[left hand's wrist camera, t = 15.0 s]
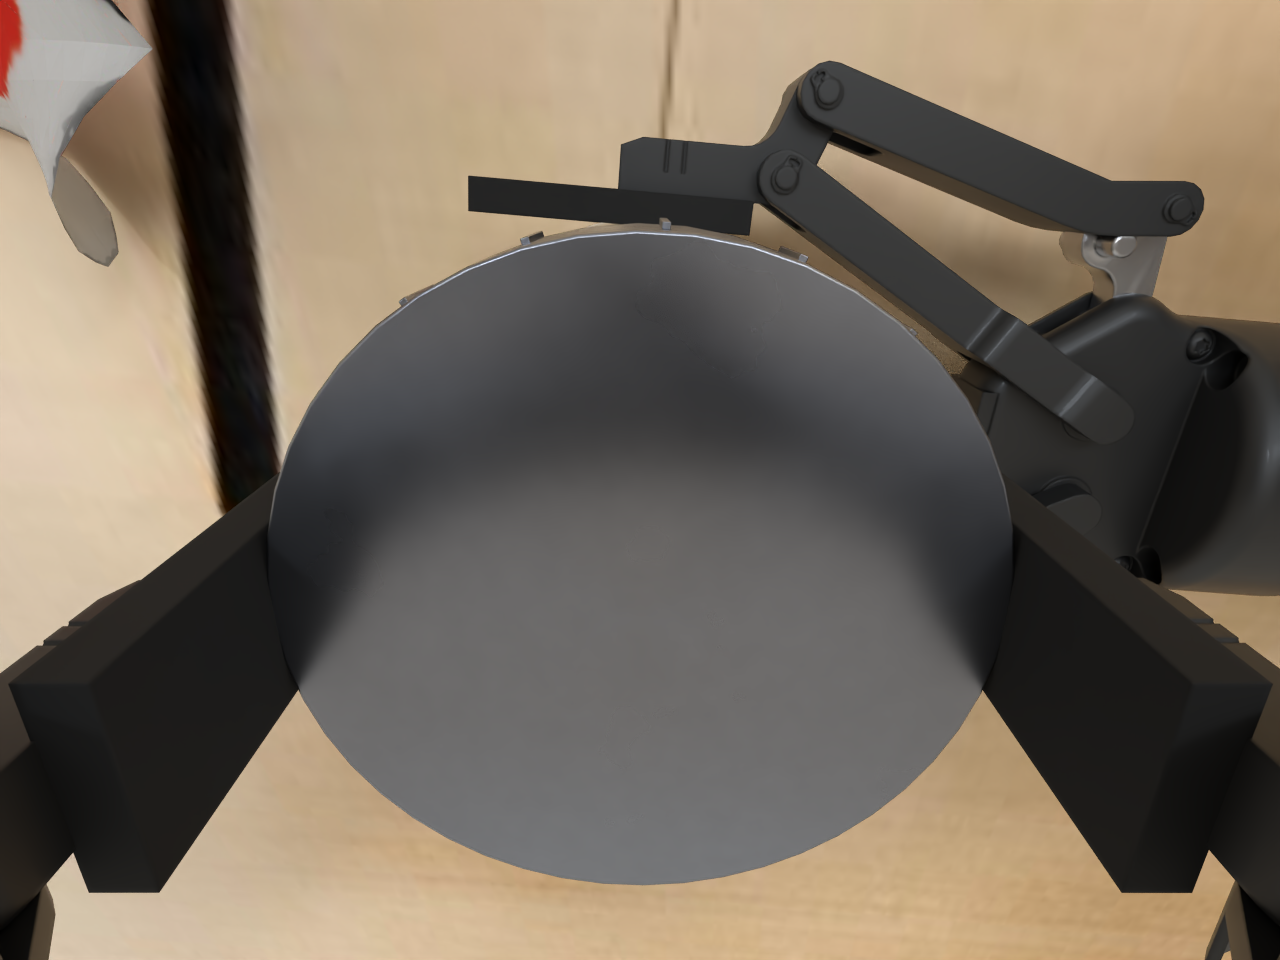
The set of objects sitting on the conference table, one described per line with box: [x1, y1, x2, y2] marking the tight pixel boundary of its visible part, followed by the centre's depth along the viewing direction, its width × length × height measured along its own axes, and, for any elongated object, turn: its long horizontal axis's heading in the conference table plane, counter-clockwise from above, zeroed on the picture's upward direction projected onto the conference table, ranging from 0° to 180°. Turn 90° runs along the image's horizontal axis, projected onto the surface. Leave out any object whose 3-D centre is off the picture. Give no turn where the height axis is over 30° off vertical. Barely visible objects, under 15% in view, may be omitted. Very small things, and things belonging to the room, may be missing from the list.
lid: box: [267, 218, 1014, 885], centre depth 11 cm, size 10×10×2 cm
